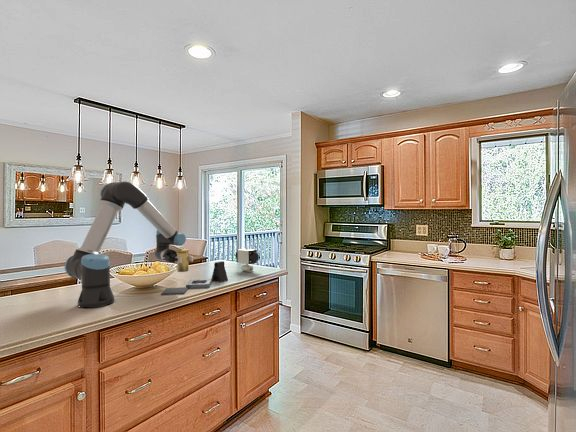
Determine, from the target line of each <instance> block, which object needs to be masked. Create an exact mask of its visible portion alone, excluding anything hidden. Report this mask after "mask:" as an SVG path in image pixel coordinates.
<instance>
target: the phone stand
mask: <svg viewBox="0 0 576 432" xmlns="http://www.w3.org/2000/svg"><path fill="white" fill-rule="evenodd" d="M213 265H214V268H213V272H212V275H211V279H212V282H217V283H223V282H227V281H229V278H228V274H227V271H226V267H225V261H224V260H223V261H216V262H214V264H213Z"/></svg>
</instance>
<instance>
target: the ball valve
mask: <svg viewBox="0 0 576 432" xmlns="http://www.w3.org/2000/svg"><path fill="white" fill-rule="evenodd" d="M234 257H235V259H236V262H237V263H239V264H242V265H241V267H240V270H241V271H243V272H247V273H251V272H253V271H254V266H253V264H257V263H258V261H259V253H258V250H257V249H251V248H248V247H245V248H239V249H236V252H235V256H234Z"/></svg>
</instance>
